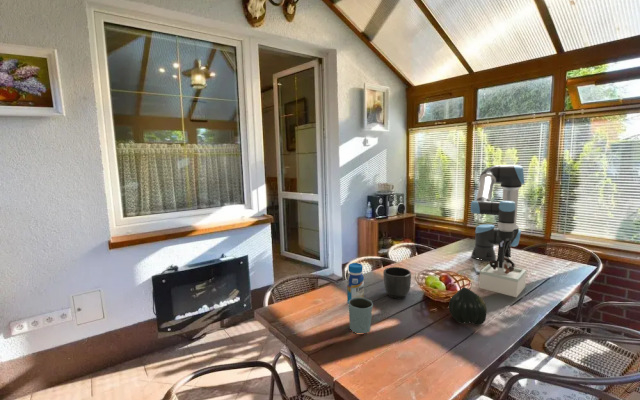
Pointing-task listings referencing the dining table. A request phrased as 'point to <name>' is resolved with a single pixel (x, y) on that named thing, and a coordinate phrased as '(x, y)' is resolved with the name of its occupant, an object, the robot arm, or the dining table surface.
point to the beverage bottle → (355, 282)
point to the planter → (397, 281)
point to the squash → (467, 307)
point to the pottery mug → (504, 265)
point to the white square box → (503, 280)
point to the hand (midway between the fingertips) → (503, 270)
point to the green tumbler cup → (360, 314)
